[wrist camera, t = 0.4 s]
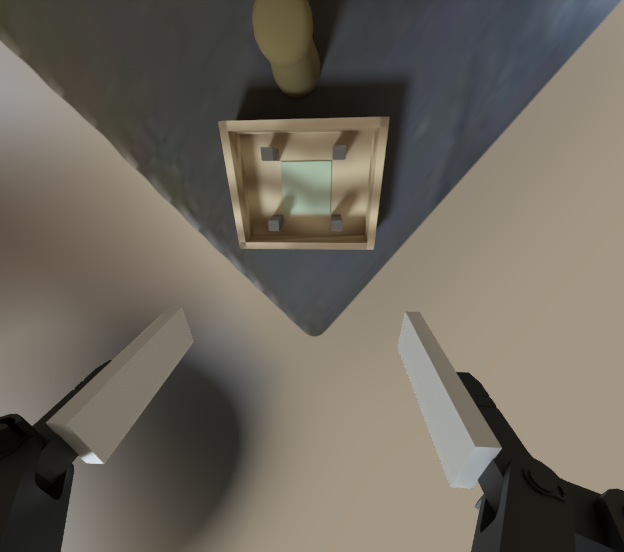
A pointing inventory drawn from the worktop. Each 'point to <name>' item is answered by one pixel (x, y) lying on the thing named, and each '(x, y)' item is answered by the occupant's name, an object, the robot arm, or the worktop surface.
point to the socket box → (305, 181)
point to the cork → (288, 43)
